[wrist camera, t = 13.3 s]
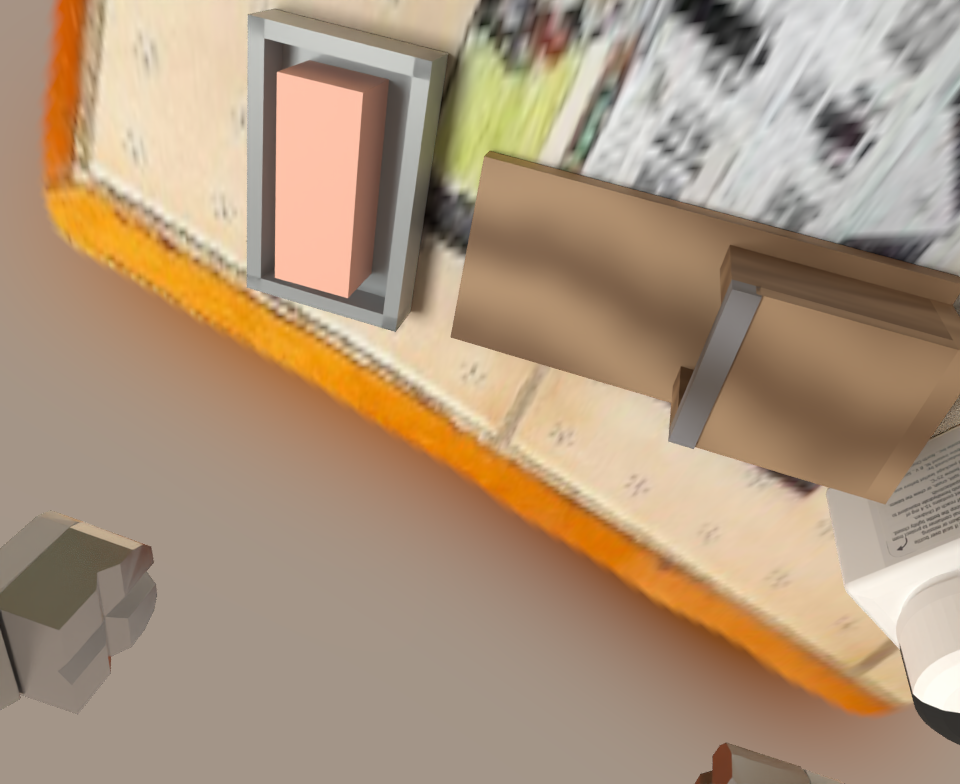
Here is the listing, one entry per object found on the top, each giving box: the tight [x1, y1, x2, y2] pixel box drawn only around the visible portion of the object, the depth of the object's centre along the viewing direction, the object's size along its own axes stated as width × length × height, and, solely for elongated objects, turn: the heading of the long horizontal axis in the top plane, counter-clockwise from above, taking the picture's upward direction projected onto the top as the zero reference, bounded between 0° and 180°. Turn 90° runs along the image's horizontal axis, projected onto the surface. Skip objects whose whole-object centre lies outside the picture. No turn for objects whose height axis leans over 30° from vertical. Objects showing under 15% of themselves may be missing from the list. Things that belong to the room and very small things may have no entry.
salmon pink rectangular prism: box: [275, 60, 389, 298], centre depth 36 cm, size 4×10×3 cm, turn 170°
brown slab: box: [451, 151, 960, 504], centre depth 35 cm, size 10×22×6 cm, turn 79°
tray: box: [247, 9, 448, 332], centre depth 37 cm, size 14×9×2 cm, turn 169°
